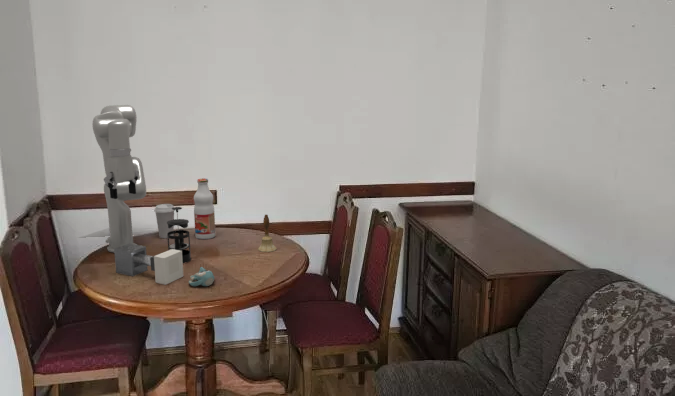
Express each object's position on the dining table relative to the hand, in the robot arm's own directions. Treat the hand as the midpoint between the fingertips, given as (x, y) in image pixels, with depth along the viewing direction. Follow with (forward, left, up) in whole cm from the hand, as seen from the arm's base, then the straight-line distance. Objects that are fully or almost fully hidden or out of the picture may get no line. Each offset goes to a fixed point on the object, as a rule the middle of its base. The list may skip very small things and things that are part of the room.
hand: (123, 195), depth 240 cm
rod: (+14, -2, -27) cm, 31 cm away
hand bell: (+36, +47, -31) cm, 67 cm away
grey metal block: (+4, -2, -30) cm, 31 cm away
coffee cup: (-18, +42, -31) cm, 55 cm away
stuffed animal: (+37, 0, -31) cm, 48 cm away
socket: (+23, -2, -30) cm, 38 cm away
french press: (+11, +18, -31) cm, 37 cm away
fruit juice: (-1, +50, -31) cm, 59 cm away
